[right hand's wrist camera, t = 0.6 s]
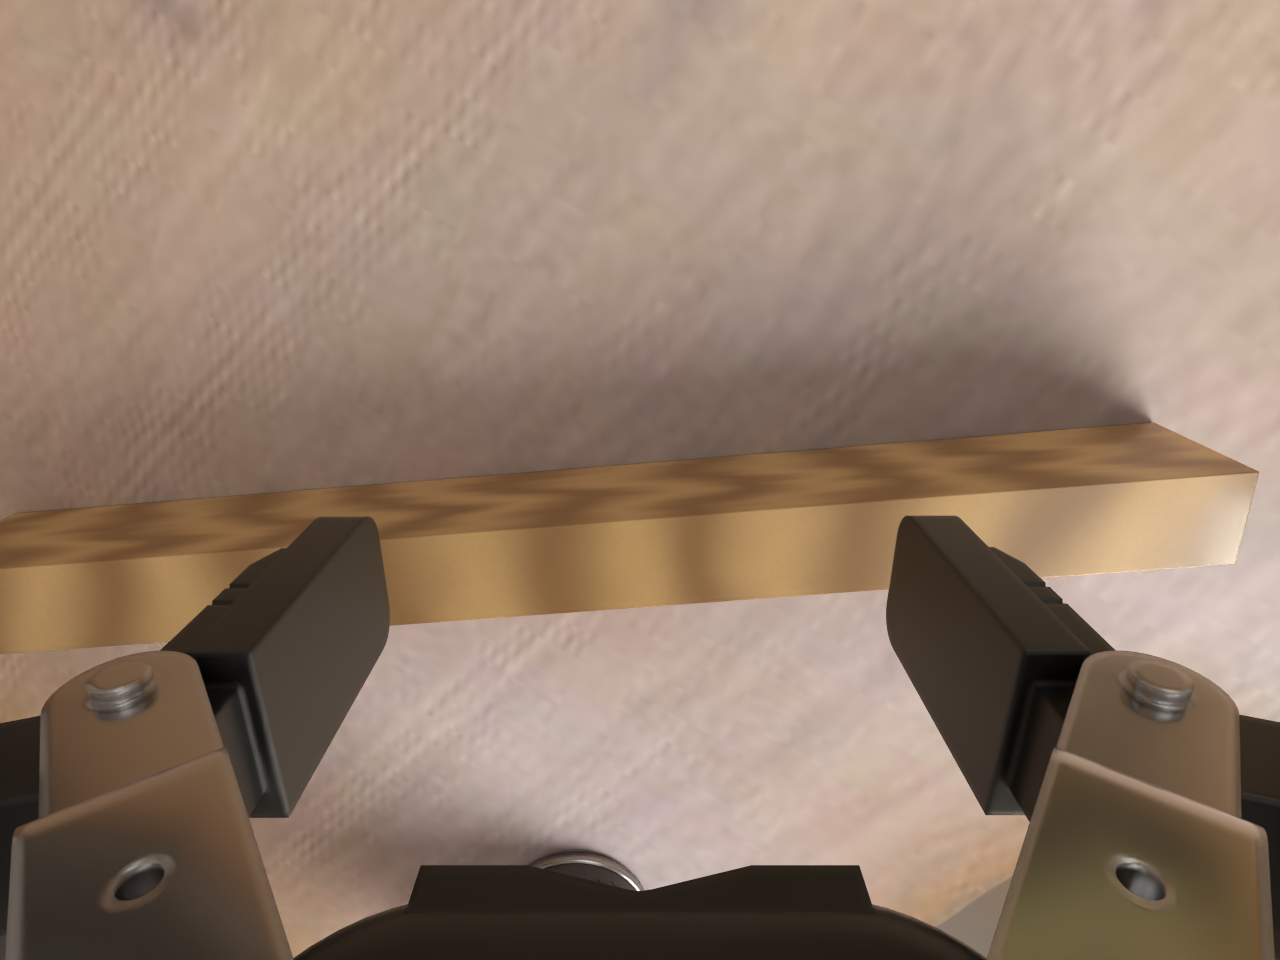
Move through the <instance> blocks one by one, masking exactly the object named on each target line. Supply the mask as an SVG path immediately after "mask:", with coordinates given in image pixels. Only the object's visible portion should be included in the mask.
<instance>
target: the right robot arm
mask: <svg viewBox="0 0 1280 960" xmlns="http://www.w3.org/2000/svg"><path fill="white" fill-rule="evenodd" d="M886 622H887V630H888V635H889V639H890V642H891V645H892V647H893V649H894V651H895V653H896V654H897V656H898V658H899V660H900V662H901V663H902V665H903V667H904V669H905V671H906V672H907V674H908V676H909V678H910V680H911V681H912V683H913V685H914V687H915V689H916V690H917V692H918V694H919V696H920V698H921V699H922V701H923V703H924V705H925V707H926V708H927V710H928V712H929V714H930V716H931V717H932V719H933V721H934V723H935V725H936V726H937V728H938V730H939V732H940V734H941V735H942V737H943V739H944V741H945V743H946V744H947V746H948V748H949V750H950V752H951V753H952V755H953V757H954V759H955V761H956V762H957V764H958V766H959V768H960V770H961V771H962V773H963V775H964V777H965V779H966V780H967V782H968V784H969V786H970V788H971V789H972V791H973V793H974V795H975V797H976V798H977V800H978V802H979V804H980V806H981V807H982V809H983V811H984V813H985V815H1026V817H1027V818H1028V820H1029V822H1030V824H1029V827H1028V830H1027V833H1026V836H1025V839H1024V843H1023V846H1022V849H1021V852H1020V855H1019V858H1018V861H1017V865H1016V868H1015V871H1014V874H1013V877H1012V880H1011V884H1010V887H1009V890H1008V893H1007V896H1006V899H1005V902H1004V906H1003V909H1002V912H1001V915H1000V918H999V921H998V924H997V928H996V931H995V934H994V937H993V940H992V943H991V946H990V950H989V953H988V956H987V958H985V957H984V956H982V955H981V954H979V953H978V952H976V951H975V950H974V949H972V948H971V947H969V946H968V945H966V944H964V943H963V942H961V941H959V940H957V939H956V938H954V937H952V936H950V935H949V934H947V933H945V932H943V931H942V930H940V929H938V928H935V927H933V926H931V925H929V924H927V923H924V922H922V921H920V920H918V919H916V918H914V917H911V916H908V915H905V914H902V913H899V912H896V911H894V910H891V909H888V908H884V907H880V906H877V905H873V904H871V900H870V897H869V894H868V891H867V888H866V885H865V882H864V879H863V876H862V873H861V870H860V867H859V865H751V866H747V867H743V868H739V869H735V870H731V871H726V872H722V873H718V874H714V875H710V876H706V877H702V878H697V879H693V880H689V881H685V882H681V883H677V884H673V885H668V886H664V887H660V888H656V889H652V890H646V891H644V889H643V887H642V885H641V883H640V882H639V880H638V879H637V878H636V876H635V875H634V874H633V873H632V872H631V871H630V870H628V869H627V868H626V867H624V866H623V865H621V864H619V863H618V862H616V861H614V860H611V859H609V858H606V857H603V856H599V855H595V854H589V853H563V854H557V855H553V856H549V857H546V858H543V859H541V860H539V861H537V862H535V863H533V864H532V865H530V866H529V865H421V867H420V870H419V873H418V876H417V879H416V882H415V885H414V888H413V891H412V894H411V897H410V900H409V904H407V905H404V906H400V907H396V908H392V909H389V910H386V911H384V912H381V913H378V914H375V915H372V916H369V917H366V918H364V919H362V920H360V921H358V922H356V923H353V924H351V925H349V926H347V927H345V928H342V929H340V930H338V931H337V932H335V933H333V934H331V935H330V936H328V937H326V938H324V939H323V940H321V941H319V942H317V943H316V944H314V945H312V946H311V947H309V948H308V949H306V950H305V951H303V952H302V953H301V954H299V955H298V956H296V957H295V958H293V956H292V953H291V950H290V946H289V943H288V940H287V937H286V934H285V931H284V928H283V924H282V921H281V918H280V915H279V912H278V909H277V906H276V902H275V899H274V896H273V893H272V890H271V887H270V883H269V880H268V877H267V874H266V871H265V868H264V865H263V861H262V858H261V855H260V852H259V849H258V846H257V843H256V839H255V836H254V833H253V830H252V827H251V824H250V821H249V818H289V816H290V814H291V812H292V811H293V809H294V807H295V805H296V803H297V802H298V800H299V798H300V796H301V795H302V793H303V791H304V789H305V787H306V786H307V784H308V782H309V780H310V779H311V777H312V775H313V773H314V771H315V770H316V768H317V766H318V764H319V763H320V761H321V759H322V757H323V755H324V754H325V752H326V750H327V748H328V747H329V745H330V743H331V741H332V739H333V738H334V736H335V734H336V732H337V731H338V729H339V727H340V725H341V723H342V722H343V720H344V718H345V716H346V715H347V713H348V711H349V709H350V707H351V706H352V704H353V702H354V700H355V699H356V697H357V695H358V693H359V691H360V690H361V688H362V686H363V684H364V683H365V681H366V679H367V677H368V676H369V674H370V672H371V670H372V668H373V667H374V665H375V663H376V661H377V660H378V658H379V656H380V654H381V652H382V651H383V649H384V647H385V644H386V641H387V637H388V633H389V626H390V607H389V599H388V593H387V586H386V579H385V572H384V566H383V559H382V552H381V546H380V539H379V533H378V529H377V526H376V523H375V521H374V520H373V519H372V518H371V517H318V518H316V519H315V520H314V521H313V522H312V523H311V524H310V525H309V526H308V527H307V528H306V529H305V530H304V531H303V532H302V533H301V534H300V535H299V536H298V537H297V538H296V539H295V540H294V541H293V542H292V543H291V544H290V545H289V546H288V547H287V548H281V549H279V550H277V551H275V552H273V553H271V554H269V555H268V556H266V557H264V558H262V559H260V560H258V561H256V562H254V563H252V564H251V565H249V566H248V567H247V568H246V569H245V570H244V571H243V572H242V573H241V574H240V575H239V576H238V577H237V578H236V579H235V580H234V581H232V582H231V583H230V584H229V588H225V589H224V590H223V591H222V592H221V593H220V594H219V595H218V596H217V597H216V598H215V599H214V600H213V601H212V605H207V606H206V607H205V608H204V609H203V610H202V611H201V612H200V613H199V614H198V615H197V616H196V617H195V618H194V619H193V620H192V621H191V622H189V623H188V624H187V625H186V626H185V627H184V628H183V629H182V630H181V631H180V632H179V633H178V634H177V635H176V636H175V637H174V638H173V639H172V640H171V641H170V642H168V643H167V644H166V645H165V646H164V647H163V648H162V649H161V650H160V651H150V652H142V653H137V654H132V655H128V656H124V657H121V658H117V659H114V660H111V661H108V662H105V663H103V664H101V665H98V666H96V667H93V668H91V669H89V670H87V671H85V672H83V673H81V674H80V675H78V676H76V677H74V678H73V679H71V680H70V681H68V682H67V683H65V684H64V685H63V686H61V687H60V688H59V689H58V690H57V691H55V692H54V693H53V694H52V695H51V696H50V698H49V699H48V700H47V701H46V703H45V704H44V706H43V708H42V711H41V716H37V717H32V718H26V719H21V720H16V721H11V722H5V723H0V960H1280V722H1275V721H1269V720H1264V719H1259V718H1254V717H1249V716H1243V715H1239V711H1238V708H1237V706H1236V704H1235V703H1234V701H1233V700H1232V699H1231V698H1230V696H1229V695H1228V694H1227V693H1226V692H1225V691H1223V690H1222V689H1221V688H1220V687H1219V686H1217V685H1216V684H1215V683H1213V682H1212V681H1210V680H1209V679H1207V678H1205V677H1204V676H1202V675H1200V674H1199V673H1197V672H1195V671H1193V670H1191V669H1189V668H1187V667H1184V666H1182V665H1179V664H1177V663H1175V662H1172V661H1169V660H1166V659H1163V658H1159V657H1156V656H1152V655H1148V654H1143V653H1138V652H1130V651H1116V650H1115V649H1114V648H1112V647H1111V646H1110V645H1109V644H1108V643H1107V642H1106V641H1105V640H1104V639H1103V638H1102V637H1101V636H1100V635H1099V634H1098V633H1097V632H1096V631H1095V630H1094V629H1093V628H1092V627H1091V626H1090V625H1089V624H1088V623H1086V622H1085V621H1084V620H1083V619H1082V618H1081V617H1080V616H1079V615H1078V614H1077V613H1076V612H1075V611H1074V610H1073V609H1072V608H1071V607H1070V606H1069V605H1068V604H1063V602H1062V598H1060V597H1059V596H1058V595H1057V594H1056V593H1055V592H1054V591H1053V590H1052V589H1051V588H1050V587H1046V586H1045V582H1044V581H1043V580H1042V579H1041V578H1040V577H1039V576H1038V575H1037V574H1036V573H1035V572H1033V571H1032V570H1031V569H1030V568H1029V567H1028V566H1027V565H1026V564H1025V563H1023V562H1021V561H1019V560H1018V559H1016V558H1014V557H1012V556H1010V555H1008V554H1006V553H1004V552H1003V551H1001V550H999V549H997V548H995V547H988V546H987V545H986V544H985V543H984V542H983V541H982V540H981V539H980V538H979V537H978V536H977V535H976V534H975V533H974V531H973V530H972V529H971V528H970V527H969V526H968V525H967V524H966V523H965V522H964V521H963V520H962V519H961V518H959V517H958V516H905V517H904V518H903V519H902V520H901V522H900V525H899V528H898V532H897V538H896V545H895V552H894V559H893V565H892V572H891V579H890V586H889V593H888V600H887V608H886Z"/></svg>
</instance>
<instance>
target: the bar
mask: <svg viewBox="0 0 1280 960" xmlns="http://www.w3.org/2000/svg"><path fill="white" fill-rule="evenodd" d="M1258 475H1259V472H1258V471H1256V470H1254V469H1252V468H1250V467H1248V466H1246V465H1243V464H1241V463H1239V462H1237V461H1235V460H1233V459H1231V458H1228V457H1226V456H1224V455H1222V454H1220V453H1218V452H1216V451H1214V450H1211V449H1209V448H1207V447H1205V446H1203V445H1201V444H1199V443H1196V442H1194V441H1192V440H1190V439H1188V438H1186V437H1184V436H1182V435H1179V434H1177V433H1175V432H1173V431H1171V430H1169V429H1167V428H1164V427H1162V426H1160V425H1158V424H1156V423H1141V424H1129V425H1116V426H1104V427H1091V428H1079V429H1066V430H1054V431H1041V432H1029V433H1016V434H1004V435H991V436H979V437H966V438H954V439H941V440H928V441H916V442H903V443H891V444H878V445H866V446H853V447H841V448H828V449H816V450H803V451H791V452H778V453H766V454H753V455H741V456H728V457H716V458H703V459H691V460H678V461H666V462H653V463H640V464H628V465H615V466H603V467H590V468H578V469H565V470H553V471H540V472H528V473H515V474H503V475H490V476H478V477H465V478H453V479H440V480H428V481H415V482H403V483H390V484H378V485H365V486H352V487H340V488H327V489H315V490H302V491H290V492H277V493H265V494H252V495H240V496H227V497H215V498H202V499H190V500H177V501H165V502H152V503H140V504H127V505H115V506H102V507H90V508H77V509H64V510H52V511H39V512H27V513H14V514H12V515H11V516H9V517H7V518H5V519H3V520H1V521H0V654H6V653H20V652H33V651H47V650H61V649H74V648H88V647H102V646H116V645H129V644H143V643H157V642H170V641H171V640H172V639H173V638H174V637H175V636H176V635H177V634H178V633H179V632H180V631H181V630H182V629H183V628H184V627H185V626H186V625H187V624H188V623H189V622H191V621H192V620H193V619H194V618H195V617H196V616H197V615H198V614H199V613H200V612H201V611H202V610H203V609H204V608H205V607H206V606H207V605H212V601H213V600H214V599H215V598H216V597H217V596H218V595H219V594H220V593H221V592H222V591H223V590H224V589H225V588H229V584H230V583H231V582H232V581H234V580H235V579H236V578H237V577H238V576H239V575H240V574H241V573H242V572H243V571H244V570H245V569H246V568H247V567H248V566H249V565H251V564H252V563H254V562H256V561H258V560H260V559H262V558H264V557H266V556H268V555H269V554H271V553H273V552H275V551H277V550H279V549H281V548H287V547H288V546H289V545H290V544H291V543H292V542H293V541H294V540H295V539H296V538H297V537H298V536H299V535H300V534H301V533H302V532H303V531H304V530H305V529H306V528H307V527H308V526H309V525H310V524H311V523H312V522H313V521H314V520H315V519H316V518H318V517H371V518H372V519H373V520H374V521H375V523H376V526H377V529H378V533H379V539H380V546H381V552H382V559H383V566H384V572H385V579H386V586H387V593H388V599H389V607H390V625H404V624H418V623H431V622H445V621H459V620H472V619H486V618H500V617H514V616H527V615H541V614H555V613H568V612H582V611H596V610H610V609H623V608H637V607H651V606H665V605H678V604H692V603H706V602H719V601H733V600H747V599H761V598H774V597H788V596H802V595H815V594H829V593H843V592H857V591H870V590H884V589H889V586H890V579H891V572H892V565H893V559H894V552H895V545H896V538H897V532H898V528H899V525H900V522H901V520H902V519H903V518H904V517H905V516H958V517H959V518H961V519H962V520H963V521H964V522H965V523H966V524H967V525H968V526H969V527H970V528H971V529H972V530H973V531H974V533H975V534H976V535H977V536H978V537H979V538H980V539H981V540H982V541H983V542H984V543H985V544H986V545H987V546H988V547H995V548H997V549H999V550H1001V551H1003V552H1004V553H1006V554H1008V555H1010V556H1012V557H1014V558H1016V559H1018V560H1019V561H1021V562H1023V563H1025V564H1026V565H1027V566H1028V567H1029V568H1030V569H1031V570H1032V571H1033V572H1035V573H1036V574H1037V575H1038V576H1039V577H1040V578H1049V577H1062V576H1076V575H1090V574H1104V573H1117V572H1131V571H1145V570H1159V569H1172V568H1186V567H1200V566H1213V565H1227V564H1235V563H1236V559H1237V555H1238V552H1239V548H1240V544H1241V540H1242V536H1243V532H1244V528H1245V525H1246V521H1247V517H1248V513H1249V509H1250V505H1251V501H1252V498H1253V494H1254V490H1255V486H1256V482H1257V478H1258Z"/></svg>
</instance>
